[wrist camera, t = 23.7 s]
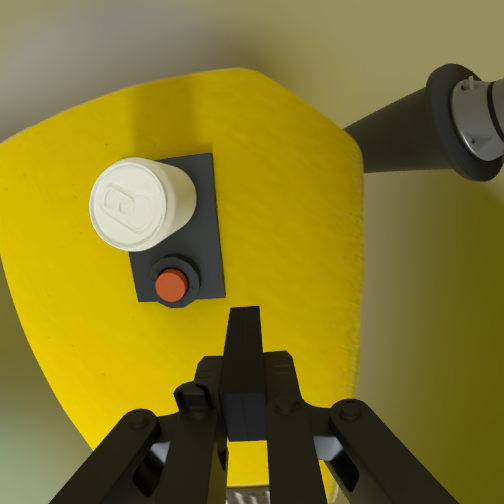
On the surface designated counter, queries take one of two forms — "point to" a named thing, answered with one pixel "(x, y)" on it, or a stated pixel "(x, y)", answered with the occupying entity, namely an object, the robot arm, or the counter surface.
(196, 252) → the warming base
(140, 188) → the beverage can
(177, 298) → the button
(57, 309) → the counter surface
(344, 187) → the counter surface
